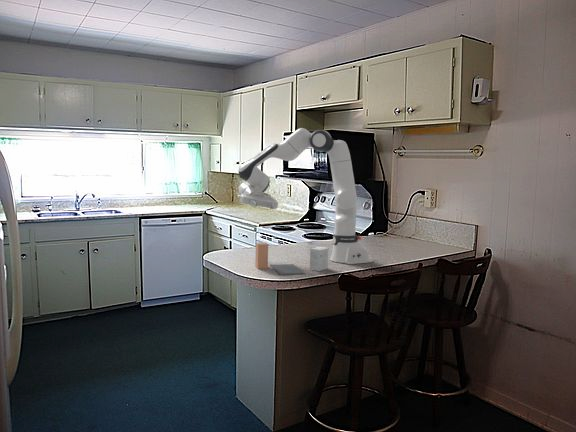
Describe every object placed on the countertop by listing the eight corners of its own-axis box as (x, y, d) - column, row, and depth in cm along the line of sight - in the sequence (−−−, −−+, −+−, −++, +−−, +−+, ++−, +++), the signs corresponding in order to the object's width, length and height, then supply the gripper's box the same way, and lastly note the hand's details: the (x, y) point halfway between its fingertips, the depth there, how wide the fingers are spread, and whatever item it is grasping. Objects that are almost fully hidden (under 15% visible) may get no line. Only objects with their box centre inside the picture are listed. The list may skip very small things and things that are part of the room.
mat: (293, 265, 246) (293, 264, 246) (304, 273, 229) (304, 272, 229) (270, 266, 243) (270, 264, 243) (280, 275, 226) (280, 273, 226)
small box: (318, 266, 244) (319, 246, 243) (328, 268, 241) (328, 247, 240) (309, 269, 238) (310, 248, 237) (318, 271, 235) (319, 250, 233)
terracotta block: (265, 266, 242) (265, 242, 241) (267, 268, 238) (268, 244, 236) (255, 266, 241) (255, 242, 239) (257, 268, 236) (258, 244, 235)
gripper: (238, 188, 250) (247, 197, 238) (272, 195, 260) (283, 203, 249) (234, 200, 252) (244, 209, 240) (269, 206, 262) (280, 215, 250)
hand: (264, 206), depth 244 cm, fingers open, 8 cm apart
